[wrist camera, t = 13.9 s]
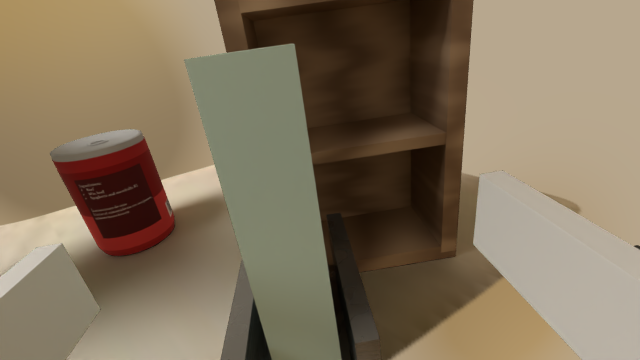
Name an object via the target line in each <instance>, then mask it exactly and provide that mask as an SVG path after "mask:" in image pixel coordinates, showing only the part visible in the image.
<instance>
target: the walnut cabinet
mask: <svg viewBox="0 0 640 360" xmlns="http://www.w3.org/2000/svg"><path fill="white" fill-rule="evenodd" d="M214 1H215V5H216V9H217V14H218V18H219V22H220V26H221V31H222V35H223V39H224V43H225V47H226V52H227V53H229V52H236V51H243V50H250V49H256V48H263V47H270V46H278V45H285V44H295V51H296V57H297V64H298V71H299V77H300V84H301V91H302V97H303V104H304V111H305V117H306V124H307V131H308V138H309V144H310V151H311V158H312V164H313V171H314V178H315V184H316V191H317V198H318V205H319V211H320V218H321V225H322V231H323V238H324V245H325V251H326V258H327V265H328V272H331V271H334V267H333V259H332V252H331V245H330V238H329V231H328V224H327V216H326V215H328V214H335V213H341V216H342V219H343V222H344V225H345V229H346V232H347V235H348V238H349V241H350V245H351V248H352V251H353V254H354V258H355V261H356V264H357V267H358V270H359V272H365V271H371V270H377V269H382V268H388V267H394V266H400V265H406V264H412V263H418V262H424V261H430V260H436V259H442V258H448V257H454V256H456V241H457V227H458V213H459V199H460V184H461V170H462V155H463V141H464V127H465V113H466V98H467V84H468V70H469V56H470V41H471V27H472V13H473V0H214Z"/></svg>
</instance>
